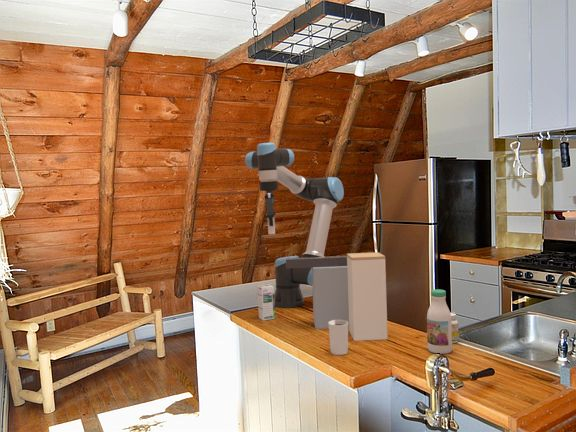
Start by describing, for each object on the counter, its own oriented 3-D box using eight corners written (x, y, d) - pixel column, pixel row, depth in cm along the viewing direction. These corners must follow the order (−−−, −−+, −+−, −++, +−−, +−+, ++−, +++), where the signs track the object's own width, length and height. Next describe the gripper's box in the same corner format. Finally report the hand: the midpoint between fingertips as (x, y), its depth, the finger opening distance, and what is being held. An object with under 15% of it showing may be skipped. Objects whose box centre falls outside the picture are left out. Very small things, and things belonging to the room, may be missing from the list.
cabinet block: (349, 331, 173) (346, 253, 172) (380, 330, 173) (378, 252, 172) (354, 340, 162) (351, 257, 161) (387, 339, 162) (385, 256, 161)
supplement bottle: (458, 344, 154) (457, 316, 154) (441, 343, 156) (441, 315, 156) (458, 339, 159) (458, 312, 159) (442, 338, 161) (442, 311, 161)
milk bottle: (434, 344, 155) (433, 287, 154) (456, 349, 149) (455, 289, 148) (423, 351, 149) (421, 291, 148) (445, 356, 144) (444, 294, 143)
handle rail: (286, 267, 183) (285, 258, 182) (350, 264, 183) (349, 255, 183) (286, 268, 179) (285, 259, 179) (351, 265, 180) (351, 257, 180)
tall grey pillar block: (313, 322, 187) (311, 264, 186) (347, 321, 187) (345, 263, 186) (315, 329, 178) (313, 268, 177) (351, 327, 178) (349, 267, 177)
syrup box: (263, 321, 192) (261, 287, 191) (258, 317, 197) (257, 284, 197) (275, 319, 194) (274, 285, 193) (270, 316, 200) (269, 283, 199)
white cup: (345, 347, 155) (344, 319, 155) (351, 354, 149) (350, 324, 148) (327, 349, 154) (326, 320, 154) (332, 356, 148) (331, 326, 147)
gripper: (260, 181, 199) (263, 229, 200) (258, 181, 174) (262, 236, 175) (277, 180, 199) (280, 228, 200) (277, 180, 174) (281, 235, 175)
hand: (271, 232), depth 188 cm, fingers open, 13 cm apart
